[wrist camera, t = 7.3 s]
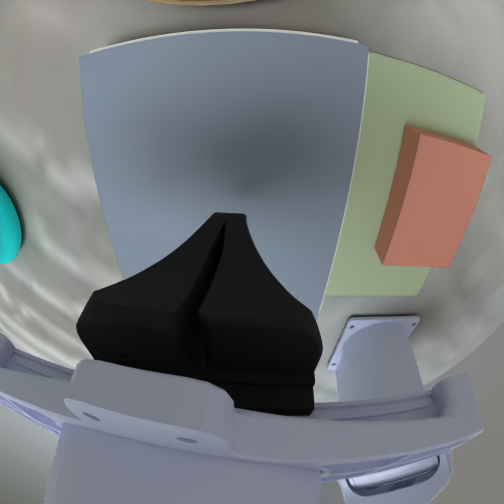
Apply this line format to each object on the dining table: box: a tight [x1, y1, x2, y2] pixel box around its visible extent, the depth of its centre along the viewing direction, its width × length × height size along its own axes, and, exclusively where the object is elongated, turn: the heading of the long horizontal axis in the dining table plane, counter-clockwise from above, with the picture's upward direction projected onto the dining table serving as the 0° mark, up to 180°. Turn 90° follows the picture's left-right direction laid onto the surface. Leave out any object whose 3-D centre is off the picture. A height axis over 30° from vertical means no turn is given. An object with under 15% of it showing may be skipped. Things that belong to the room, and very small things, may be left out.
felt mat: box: [325, 52, 486, 296], centre depth 17 cm, size 18×9×1 cm, turn 179°
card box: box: [374, 125, 491, 268], centre depth 15 cm, size 9×6×2 cm, turn 179°
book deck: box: [79, 29, 369, 320], centre depth 16 cm, size 18×14×3 cm
